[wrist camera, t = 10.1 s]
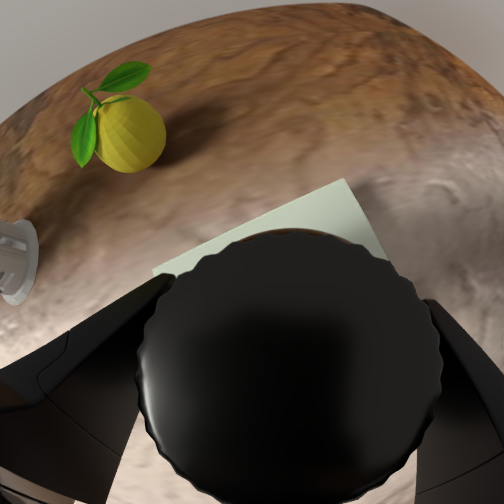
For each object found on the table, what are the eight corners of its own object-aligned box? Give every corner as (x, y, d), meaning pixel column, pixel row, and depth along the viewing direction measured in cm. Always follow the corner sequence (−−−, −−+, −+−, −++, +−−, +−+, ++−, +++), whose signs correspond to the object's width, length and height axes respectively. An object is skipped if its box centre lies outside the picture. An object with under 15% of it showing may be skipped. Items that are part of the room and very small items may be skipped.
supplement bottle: (265, 245, 16) (207, 102, 4) (372, 300, 15) (536, 276, 3) (208, 352, 15) (50, 424, 4) (314, 407, 14) (348, 571, 2)
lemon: (183, 116, 23) (133, 36, 13) (189, 171, 21) (126, 91, 12) (118, 142, 23) (54, 81, 14) (118, 196, 22) (37, 142, 12)
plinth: (415, 362, 16) (433, 369, 13) (244, 439, 17) (236, 458, 14) (337, 196, 19) (343, 177, 16) (171, 275, 20) (151, 269, 17)
